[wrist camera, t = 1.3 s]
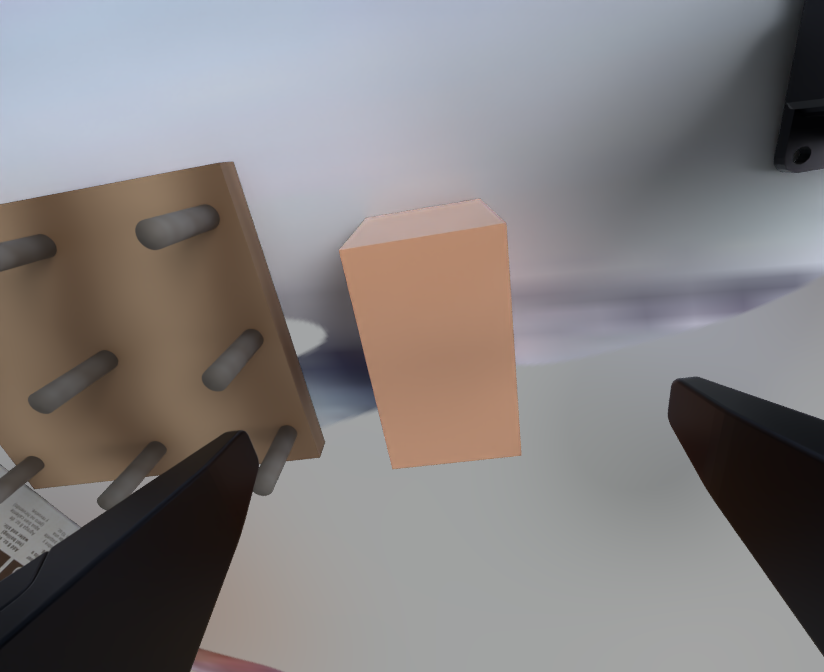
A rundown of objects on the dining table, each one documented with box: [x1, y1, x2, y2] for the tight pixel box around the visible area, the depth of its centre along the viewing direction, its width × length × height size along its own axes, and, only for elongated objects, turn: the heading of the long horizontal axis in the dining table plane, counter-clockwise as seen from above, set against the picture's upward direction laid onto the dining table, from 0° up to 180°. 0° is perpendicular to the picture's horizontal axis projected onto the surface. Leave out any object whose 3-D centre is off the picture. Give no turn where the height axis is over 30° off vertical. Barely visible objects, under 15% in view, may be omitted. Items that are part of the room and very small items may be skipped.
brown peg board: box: [0, 162, 325, 510], centre depth 15 cm, size 14×12×4 cm
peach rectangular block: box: [339, 199, 521, 469], centre depth 13 cm, size 4×7×5 cm, turn 10°
